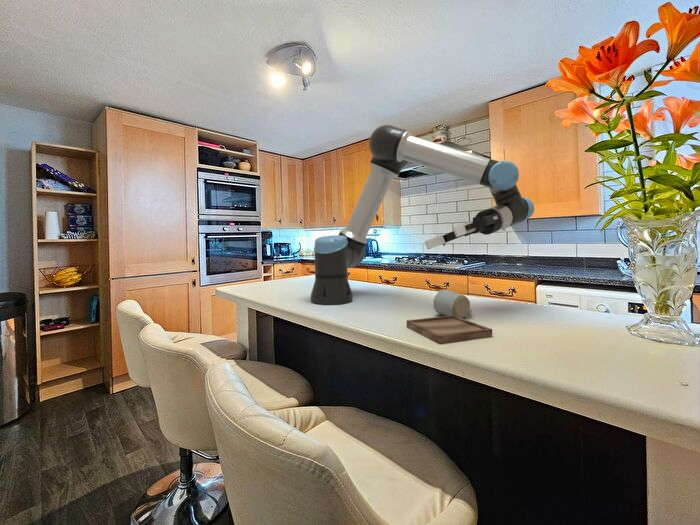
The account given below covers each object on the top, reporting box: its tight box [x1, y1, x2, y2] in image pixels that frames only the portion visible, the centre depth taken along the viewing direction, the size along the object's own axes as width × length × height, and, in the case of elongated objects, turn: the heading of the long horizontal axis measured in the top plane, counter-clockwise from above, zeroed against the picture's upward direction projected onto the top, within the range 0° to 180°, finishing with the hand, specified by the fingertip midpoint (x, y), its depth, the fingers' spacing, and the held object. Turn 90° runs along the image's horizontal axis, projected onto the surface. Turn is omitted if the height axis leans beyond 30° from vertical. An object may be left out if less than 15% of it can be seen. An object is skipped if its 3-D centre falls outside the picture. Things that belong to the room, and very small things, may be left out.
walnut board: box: [406, 315, 493, 345], centre depth 76 cm, size 14×14×2 cm
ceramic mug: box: [433, 289, 473, 319], centre depth 91 cm, size 10×8×7 cm
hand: (439, 239), depth 91 cm, fingers open, 13 cm apart
